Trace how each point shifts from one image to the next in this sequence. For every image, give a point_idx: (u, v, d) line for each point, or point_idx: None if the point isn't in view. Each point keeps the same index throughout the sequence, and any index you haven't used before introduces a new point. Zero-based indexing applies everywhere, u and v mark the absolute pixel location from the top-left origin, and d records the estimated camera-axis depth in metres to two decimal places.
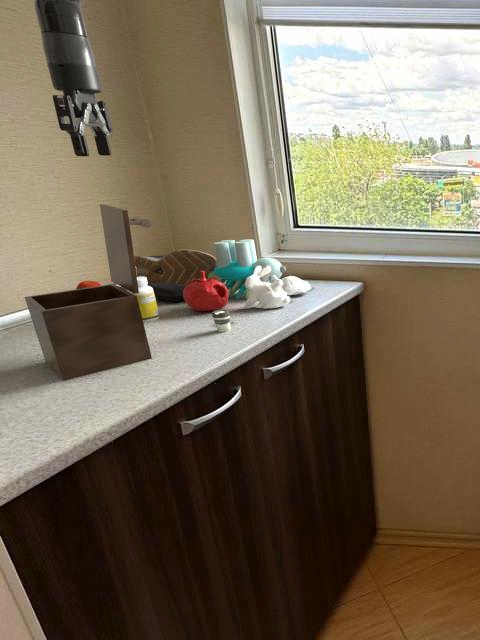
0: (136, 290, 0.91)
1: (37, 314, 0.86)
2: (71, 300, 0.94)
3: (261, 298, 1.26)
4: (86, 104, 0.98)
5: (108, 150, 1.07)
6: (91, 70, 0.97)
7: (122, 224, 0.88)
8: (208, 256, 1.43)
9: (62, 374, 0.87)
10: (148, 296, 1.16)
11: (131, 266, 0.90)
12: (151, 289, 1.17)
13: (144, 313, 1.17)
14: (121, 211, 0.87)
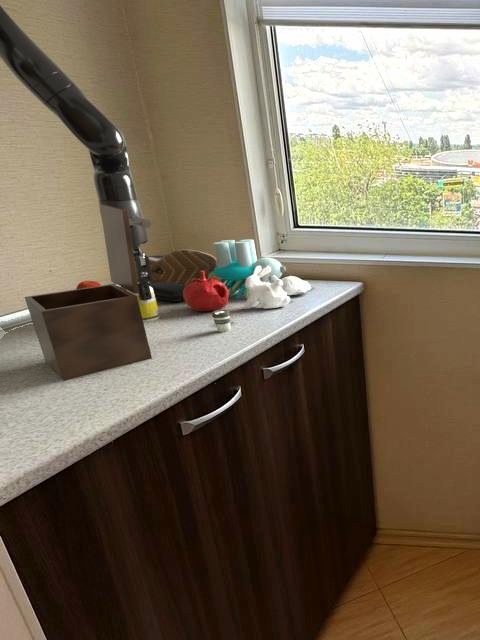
0: (136, 290, 0.91)
1: (37, 314, 0.86)
2: (71, 300, 0.94)
3: (261, 298, 1.26)
4: (143, 254, 1.14)
5: None
6: None
7: (122, 224, 0.88)
8: (208, 256, 1.43)
9: (62, 374, 0.87)
10: None
11: (131, 266, 0.90)
12: (151, 289, 1.17)
13: (144, 314, 1.17)
14: (121, 211, 0.87)
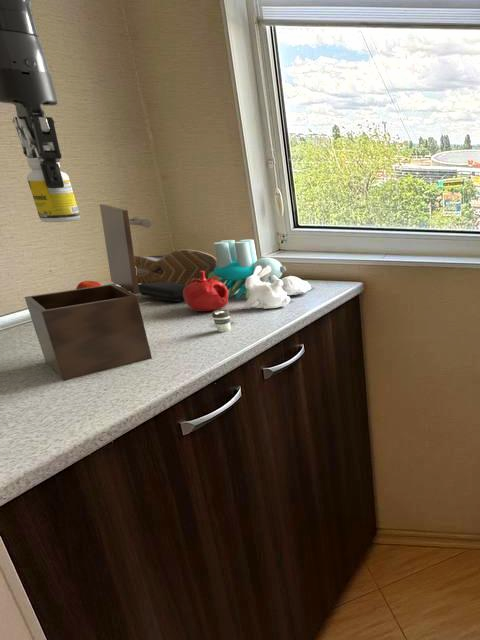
0: (136, 290, 0.91)
1: (37, 314, 0.86)
2: (71, 300, 0.94)
3: (261, 298, 1.26)
4: None
5: None
6: (51, 79, 0.80)
7: (122, 224, 0.88)
8: (208, 256, 1.43)
9: (62, 374, 0.87)
10: None
11: (131, 266, 0.90)
12: (65, 175, 0.84)
13: (55, 209, 0.83)
14: (121, 211, 0.87)
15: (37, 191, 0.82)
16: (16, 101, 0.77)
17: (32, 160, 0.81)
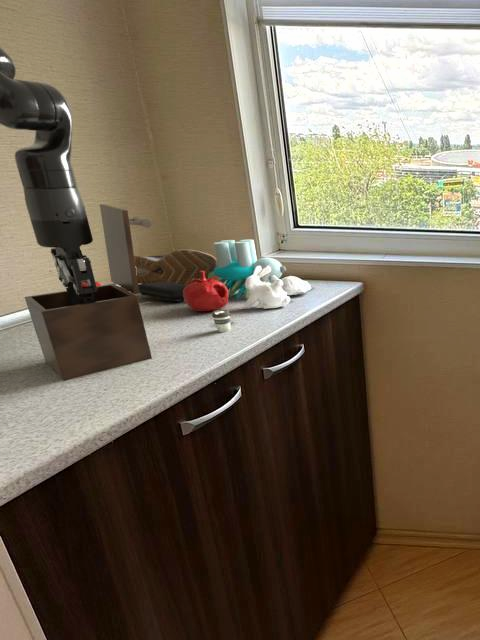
0: (136, 290, 0.91)
1: (37, 314, 0.86)
2: None
3: (261, 298, 1.26)
4: (85, 258, 0.88)
5: None
6: None
7: (122, 224, 0.88)
8: (208, 256, 1.43)
9: (62, 374, 0.87)
10: None
11: (131, 266, 0.90)
12: None
13: None
14: (121, 211, 0.87)
15: None
16: (57, 246, 0.85)
17: None
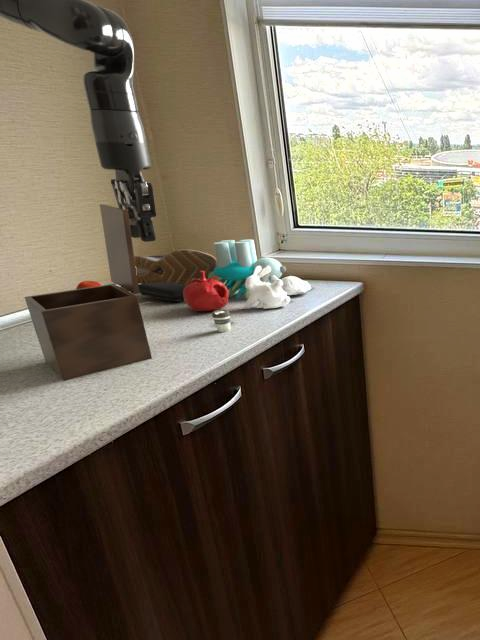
0: (136, 290, 0.91)
1: (37, 314, 0.86)
2: (71, 300, 0.94)
3: (261, 298, 1.26)
4: None
5: None
6: (147, 147, 0.92)
7: (122, 224, 0.88)
8: (208, 256, 1.43)
9: (62, 374, 0.87)
10: None
11: (131, 266, 0.90)
12: None
13: None
14: (121, 211, 0.87)
15: None
16: (120, 168, 0.88)
17: None
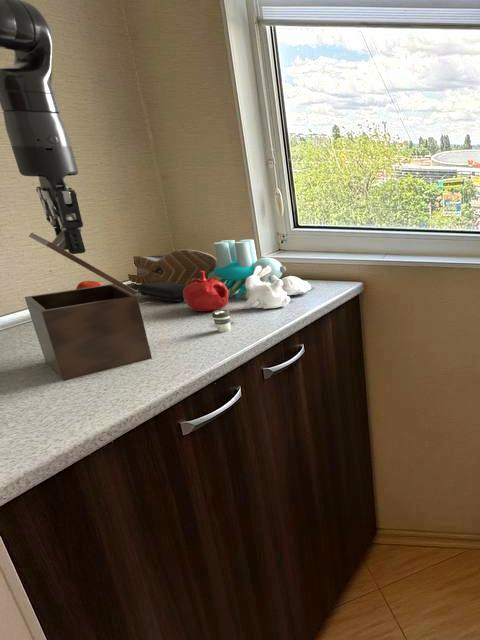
0: (133, 291, 0.91)
1: (37, 314, 0.86)
2: (71, 300, 0.94)
3: (261, 298, 1.26)
4: None
5: None
6: (72, 151, 0.84)
7: None
8: (208, 256, 1.43)
9: (62, 374, 0.87)
10: None
11: (108, 279, 0.88)
12: None
13: None
14: (47, 246, 0.81)
15: None
16: (40, 175, 0.81)
17: None
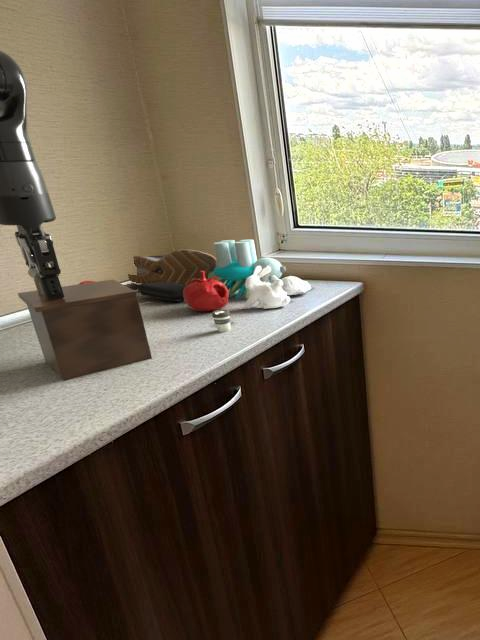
0: (133, 293, 0.91)
1: (37, 314, 0.86)
2: None
3: (261, 298, 1.26)
4: (48, 237, 0.84)
5: None
6: (49, 197, 0.83)
7: None
8: (208, 256, 1.43)
9: (62, 374, 0.87)
10: None
11: (105, 299, 0.88)
12: None
13: None
14: (37, 311, 0.82)
15: None
16: (16, 224, 0.80)
17: None
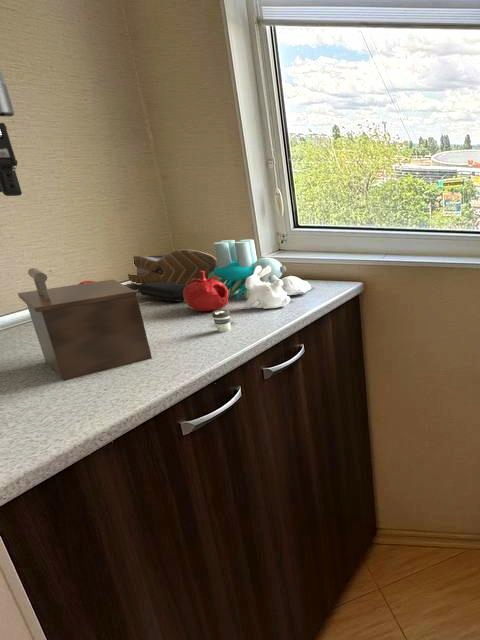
0: (133, 293, 0.91)
1: (37, 314, 0.86)
2: None
3: (261, 298, 1.26)
4: None
5: None
6: (7, 90, 0.79)
7: None
8: (208, 256, 1.43)
9: (62, 374, 0.87)
10: None
11: (105, 299, 0.88)
12: None
13: None
14: (37, 311, 0.82)
15: None
16: None
17: None
